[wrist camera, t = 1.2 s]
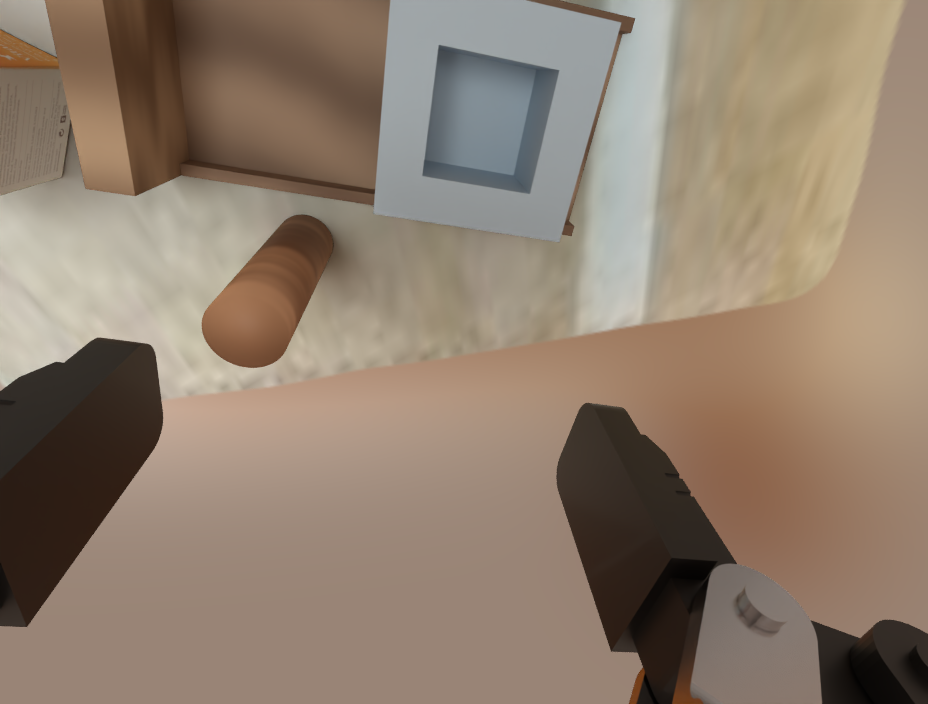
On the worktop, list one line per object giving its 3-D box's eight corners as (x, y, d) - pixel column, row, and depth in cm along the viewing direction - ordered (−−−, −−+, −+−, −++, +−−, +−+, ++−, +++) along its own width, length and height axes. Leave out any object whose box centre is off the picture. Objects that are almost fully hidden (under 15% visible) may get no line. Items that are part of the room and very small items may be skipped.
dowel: (276, 210, 29) (197, 289, 19) (334, 219, 29) (288, 300, 19) (277, 263, 30) (205, 363, 20) (332, 270, 31) (288, 371, 21)
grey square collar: (399, -8, 23) (392, -31, 17) (575, 32, 24) (621, 22, 19) (382, 184, 27) (373, 214, 22) (532, 208, 29) (559, 242, 23)
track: (125, -94, 21) (11, -157, 15) (619, 22, 25) (681, 7, 19) (160, 161, 27) (85, 188, 21) (562, 225, 31) (596, 264, 25)
